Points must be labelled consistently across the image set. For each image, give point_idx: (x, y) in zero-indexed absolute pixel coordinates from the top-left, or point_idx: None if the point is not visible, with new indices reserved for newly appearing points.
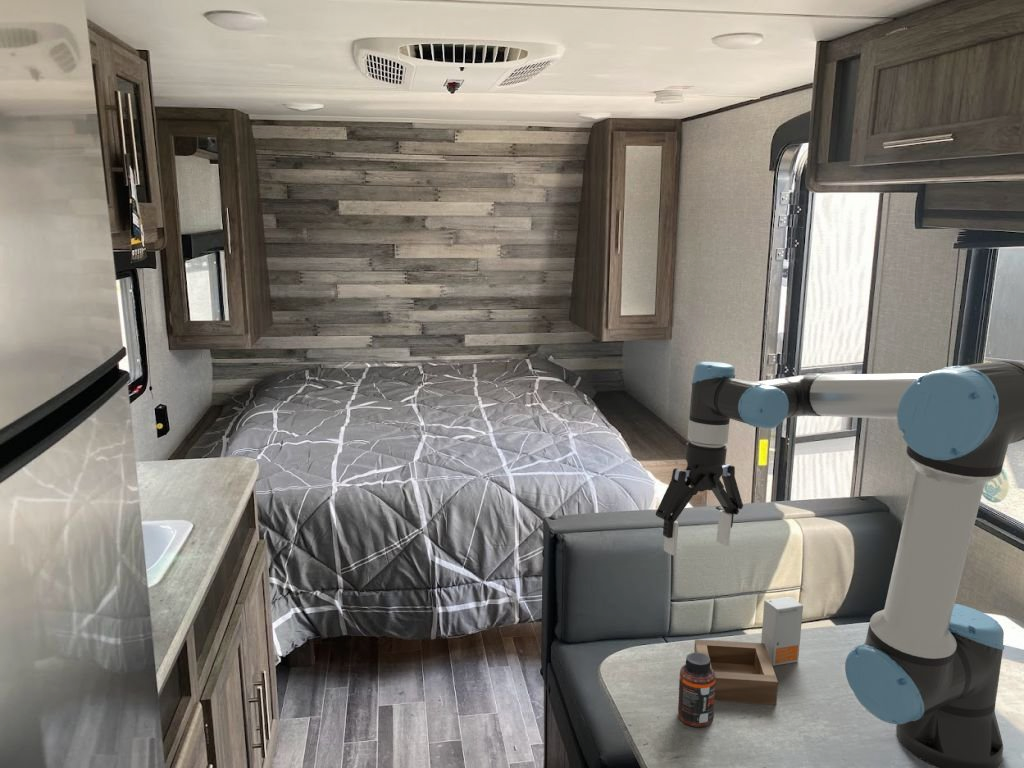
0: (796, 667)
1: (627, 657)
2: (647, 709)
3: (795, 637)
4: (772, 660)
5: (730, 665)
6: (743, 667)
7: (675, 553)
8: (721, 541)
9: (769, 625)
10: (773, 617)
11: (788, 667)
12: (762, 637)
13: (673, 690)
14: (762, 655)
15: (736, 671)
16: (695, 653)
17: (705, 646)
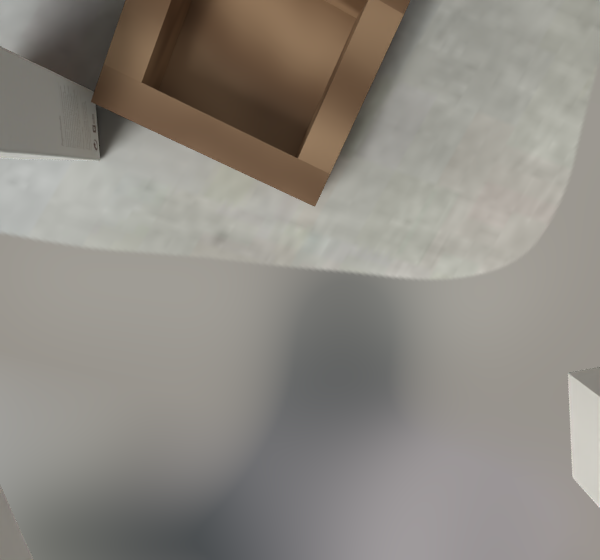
0: None
1: (468, 271)
2: (553, 21)
3: None
4: (87, 89)
5: (231, 117)
6: (198, 93)
7: (586, 377)
8: (4, 542)
9: (34, 102)
10: (2, 65)
11: None
12: (72, 150)
13: (441, 81)
14: (141, 27)
15: (231, 80)
16: None
17: (305, 152)
